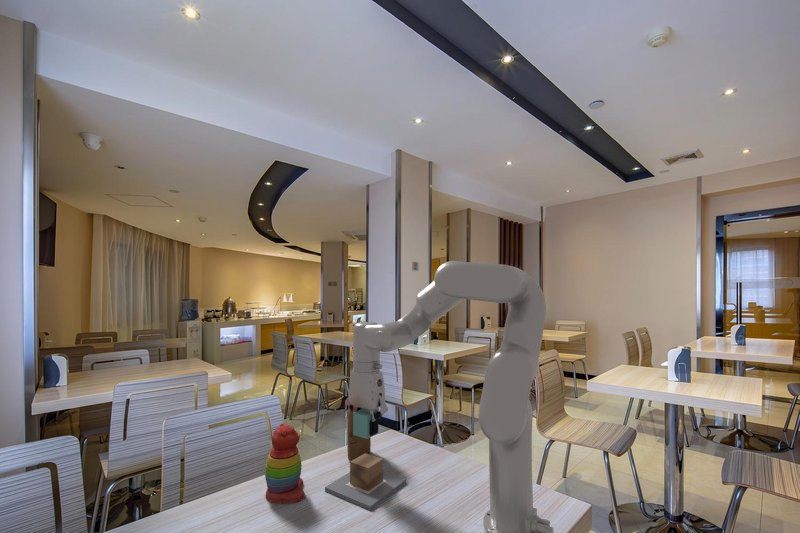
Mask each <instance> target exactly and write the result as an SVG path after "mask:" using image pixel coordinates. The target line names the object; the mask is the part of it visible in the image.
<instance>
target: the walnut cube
mask: <svg viewBox="0 0 800 533" xmlns="http://www.w3.org/2000/svg"><path fill="white" fill-rule="evenodd" d="M383 471H384V458H381V457H378V456H375V455H373V454H372V455H371V454H370V455H369V454H366V453H365V454H363V455H361V456H359V457H358V458H356V459H354V460H352V461H349V472H350V484H351V485H353V486H356V487H358V488H361V489H363V490H366V491H370V490H371V489H372V488H374V487H375V486H377V485H378V484H380V483H381V482H382V481H383Z"/></svg>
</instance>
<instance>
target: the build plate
mask: <svg viewBox="0 0 800 533" xmlns="http://www.w3.org/2000/svg"><path fill="white" fill-rule="evenodd" d="M405 484H407V478H404V477H402V476H398V475H396V474H392V473H390V472H388V471H387V472H386V471H384V470H383V481H382V482H381V483H380V484H378V485H377V486H375V487H374V488H372V489H371V490H370V491H366V490H363V489H361V488H358V487H356V486H353V485H351V484H350V471H349V472H347V473H346V474H344V475H342V476H341V477H339V478H338V479H336V480H334V481H333V482H331V483H329V484H328V485H326V486H325V487H324V492H327V493H328V494H331V495H334V496H336V497H337V498H341V499H343V500H345V501H346V502H349V503H352V504H353V505H356V506H359V507H362V508H363V509H366V510H368V511H372V510H373V509H375V508H376V507H377V506H379V505H380V504H381V503H382V502H383V501H385V500H386V499H387V498H389V497H390V496H392V495H393V494H394V493H395V492H397V491H398V490H399V489H400V488H401V487H403V486H404V485H405Z"/></svg>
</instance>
